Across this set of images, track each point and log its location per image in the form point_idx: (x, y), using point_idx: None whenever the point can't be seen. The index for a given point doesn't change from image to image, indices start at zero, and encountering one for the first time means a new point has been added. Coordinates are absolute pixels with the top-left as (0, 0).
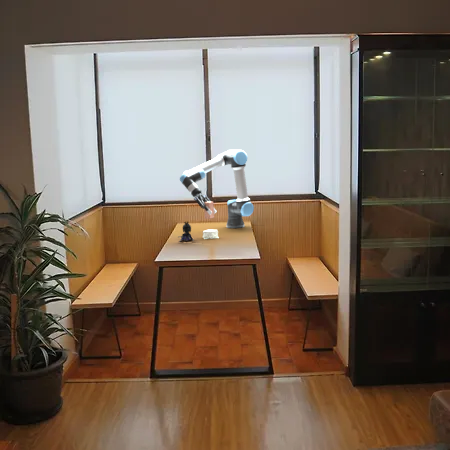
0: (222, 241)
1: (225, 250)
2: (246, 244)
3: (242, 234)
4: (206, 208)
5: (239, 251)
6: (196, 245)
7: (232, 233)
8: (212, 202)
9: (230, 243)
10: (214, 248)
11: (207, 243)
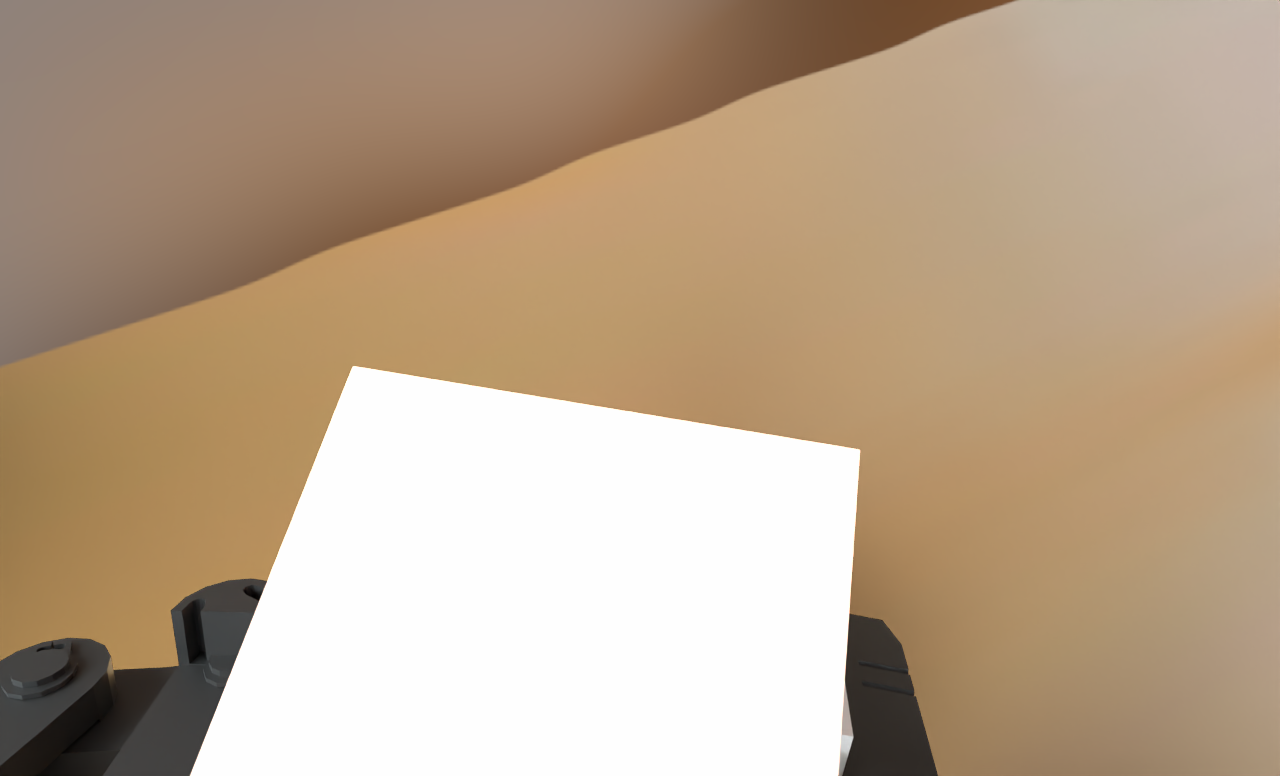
0: (792, 419)
1: (1257, 174)
2: (872, 103)
3: (247, 362)
4: (898, 692)
5: (1215, 47)
6: (1216, 679)
7: (146, 538)
8: (474, 403)
9: (882, 271)
10: (1240, 327)
11: (1002, 571)
